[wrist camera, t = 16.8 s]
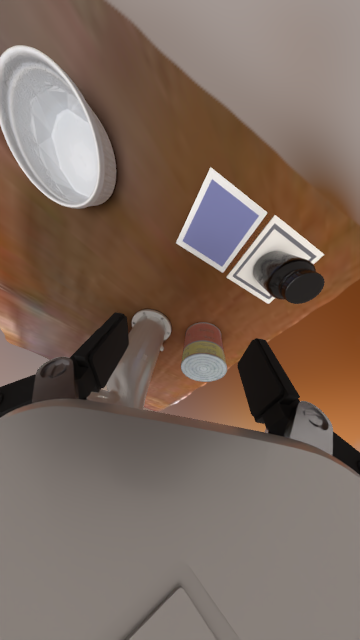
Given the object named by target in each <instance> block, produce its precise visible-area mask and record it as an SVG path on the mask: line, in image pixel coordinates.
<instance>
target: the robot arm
mask: <svg viewBox="0 0 360 640" xmlns="http://www.w3.org/2000/svg"><path fill="white" fill-rule="evenodd" d="M132 327H133V328H132V330H131V331H130V333H129V334H128V326H127V317H126V316H124V314H121V313H114V314H113V315H112V316H111V317H110V318H109V319H108V320H107V321H106V322H105V323H104V324H103V325H102V326H101V327H100V328H99V329H98V330H97V331H96V332H95V333H94V334H93V335H92V336H91V337H90V338H89V339H88V340H87V341H86V342H85V343H84V344H83V345H82V346H81V347H80V348H79V349H78V350H77V351H76V352H75V353H74V354H73V355H72V356H71V357H70V358H68V357H58V358H54V359H52V360H49V361H48V362H46V363H44V364H43V365H42V366H41V367H40V368H39V369H38V370H37V373H36V375H32V376H30V377H27V378H24V379H21V380H18V381H16V382H13V383H10V384H7V385H5V386H2V387H0V640H360V452H358V451H357V450H356V449H355V448H353V447H352V446H351V445H349V444H348V443H347V442H346V441H344V440H343V439H342V438H341V437H339V436H338V435H337V434H336V433H334V432H333V428H332V424H331V422H330V420H329V419H328V418H327V416H326V415H325V414H324V413H323V412H322V411H321V410H320V409H318V408H317V407H316V406H315V405H313V404H311V403H308V402H306V401H301V402H300V401H299V399H298V398H299V397H300V396H299V395H298V393H297V391H296V390H295V388H294V386H293V385H292V383H291V381H290V380H289V378H288V376H287V375H286V373H285V372H284V370H283V368H282V366H281V365H280V363H279V361H278V360H277V358H276V357H275V355H274V353H273V352H272V350H271V348H270V347H269V345H268V344H267V342H266V340H263V339H257V338H256V339H255V340H252V341H251V343H250V345H249V346H248V348H247V350H246V351H245V353H244V354H243V356H242V358H241V359H240V361H239V362H238V370H239V373H240V377H241V380H242V384H243V387H244V390H245V394H246V397H247V401H248V404H249V408H250V411H251V414H252V416H254V418H255V421H256V422H257V423H263V424H264V423H265V426H266V430H265V433H264V432H259V431H254V430H248V429H244V428H239V427H233V426H228V425H223V424H218V423H213V422H207V421H201V420H196V419H191V418H186V417H180V416H175V415H170V414H164V413H159V412H153V411H148V410H143V408H144V402H145V398H146V394H147V390H148V387H149V383H150V380H151V377H152V374H153V370H154V367H155V364H156V361H157V358H158V355H159V352H160V351H163V350H164V347H163V346H162V345H163V341H164V340H166V339H167V338H168V337H169V336H170V334H171V329H172V327H171V323H170V321H169V320H168V318H167V317H166V316H165V315H163V314H162V313H160V312H158V311H156V310H152V309H145V310H141V311H139V312H137V313H136V314H135V315H134V317H133V319H132ZM106 384H107V390H108V391H105V390H101V388H104V387H105V385H106Z"/></svg>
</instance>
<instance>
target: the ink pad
mask: <svg viewBox="0 0 360 640" xmlns="http://www.w3.org/2000/svg"><path fill="white" fill-rule="evenodd" d="M266 214H267V212H266V211H265V210H263V209H262V208H261V207H260V206H258V205H257V204H256V203H255V202H253V201H252V200H251V199H250V198H248V197H247V196H246V195H245V194H243V193H242V192H241V191H240V190H238V189H237V188H236V187H235V186H233V185H232V184H231V183H230V182H228V181H227V180H226V179H225V178H223V177H222V176H221V175H220V174H218V173H217V172H216V171H215V170H213V169H212V168H211V167H210V170H209V172H208V174H207V176H206V178H205V180H204V183H203V185H202V187H201V189H200V191H199V194H198V196H197V198H196V200H195V202H194V205H193V207H192V209H191V211H190V213H189V216H188V218H187V220H186V222H185V224H184V227H183V229H182V231H181V233H180V235H179V238H178V240H177V242H176V243H177V244H178V245H180V246H181V247H183V248H184V249H186V250H188V251H189V252H191V253H192V254H194V255H195V256H197V257H199V258H200V259H202V260H203V261H205V262H206V263H208V264H210V265H211V266H213V267H214V268H216V269H217V270H219V271H221V272H222V273H223V272H224V271H225V269H226V268H227V267H228V265H229V264H230V263H231V261H232V260H233V259H234V257H235V256H236V255H237V253H238V252H239V251H240V249H241V248H242V247H243V245H244V244H245V243H246V241H247V240H248V239H249V237H250V236H251V235H252V233H253V232H254V231H255V229H256V228H257V226H258V225H259V224H260V222H261V221H262V220H263V218H264V217H265V216H266Z"/></svg>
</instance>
